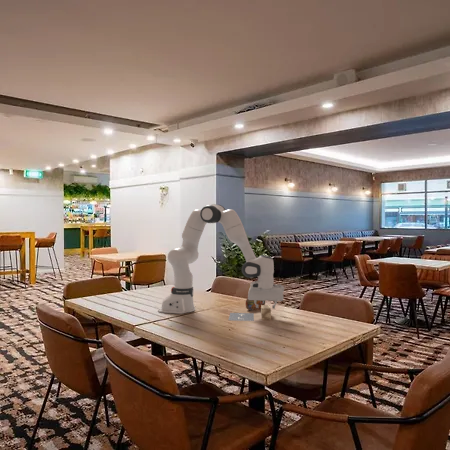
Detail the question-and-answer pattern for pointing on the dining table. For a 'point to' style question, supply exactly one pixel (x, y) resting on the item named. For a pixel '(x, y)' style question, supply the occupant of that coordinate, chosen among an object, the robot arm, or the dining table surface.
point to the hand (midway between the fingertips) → (265, 308)
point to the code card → (241, 316)
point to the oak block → (265, 312)
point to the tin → (251, 305)
